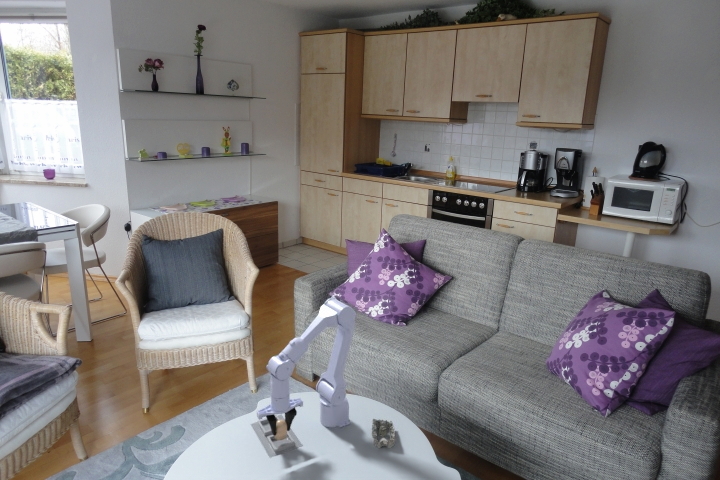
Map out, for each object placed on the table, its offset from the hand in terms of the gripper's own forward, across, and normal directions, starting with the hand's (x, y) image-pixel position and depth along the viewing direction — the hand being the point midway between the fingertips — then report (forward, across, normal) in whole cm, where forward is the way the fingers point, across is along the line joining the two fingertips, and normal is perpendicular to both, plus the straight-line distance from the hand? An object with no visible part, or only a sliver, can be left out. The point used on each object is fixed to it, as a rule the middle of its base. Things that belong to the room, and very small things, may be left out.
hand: (280, 431), depth 150 cm
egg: (+2, 0, 0) cm, 2 cm away
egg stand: (+5, 0, -4) cm, 7 cm away
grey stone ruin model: (+6, -31, +12) cm, 34 cm away
